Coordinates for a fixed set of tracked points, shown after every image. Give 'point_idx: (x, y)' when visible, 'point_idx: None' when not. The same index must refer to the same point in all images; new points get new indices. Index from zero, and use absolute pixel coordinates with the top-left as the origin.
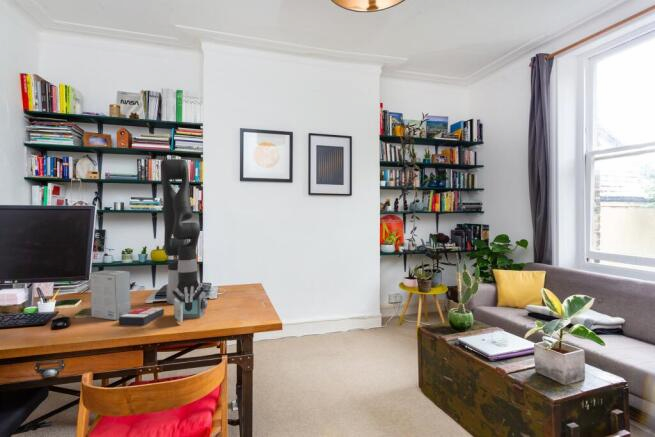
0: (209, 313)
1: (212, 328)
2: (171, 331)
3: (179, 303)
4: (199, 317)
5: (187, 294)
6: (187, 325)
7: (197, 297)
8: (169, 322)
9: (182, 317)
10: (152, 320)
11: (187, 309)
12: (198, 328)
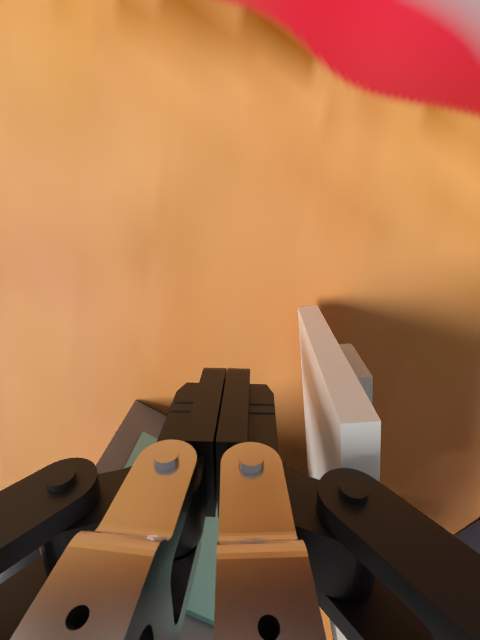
0: None
1: (48, 19)
2: (430, 179)
3: (378, 476)
4: (136, 405)
5: (227, 625)
6: (261, 271)
7: (5, 497)
8: None
9: (308, 325)
10: (469, 526)
11: (247, 377)
12: (183, 114)
